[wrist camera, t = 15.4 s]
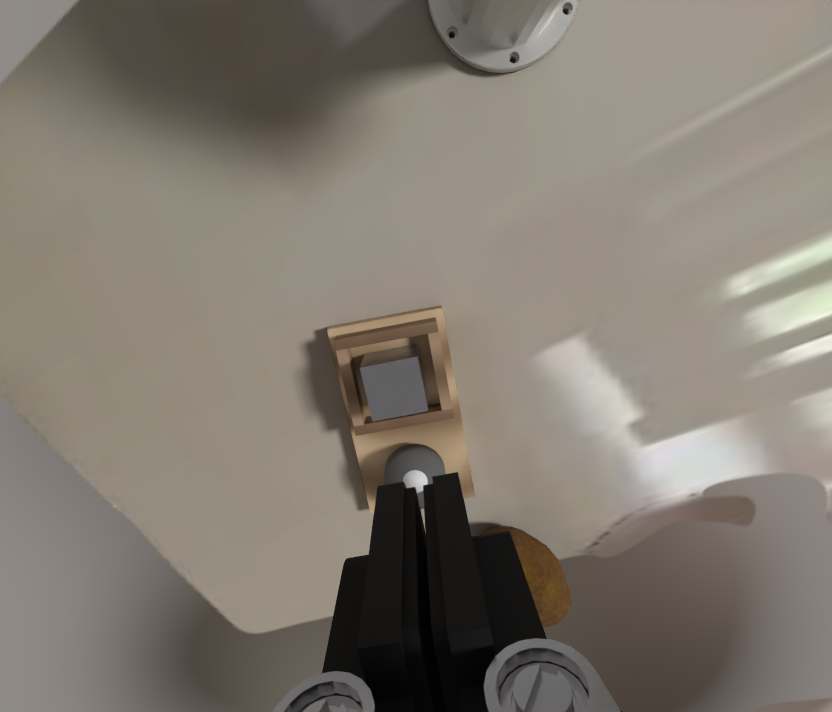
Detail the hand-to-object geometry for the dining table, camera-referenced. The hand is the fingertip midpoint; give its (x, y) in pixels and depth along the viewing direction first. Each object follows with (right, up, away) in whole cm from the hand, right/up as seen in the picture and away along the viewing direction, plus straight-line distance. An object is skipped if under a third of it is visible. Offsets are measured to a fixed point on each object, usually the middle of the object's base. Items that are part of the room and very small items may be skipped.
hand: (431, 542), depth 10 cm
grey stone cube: (-2, +2, +36) cm, 36 cm away
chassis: (-1, -2, +39) cm, 39 cm away
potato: (+11, -18, +43) cm, 48 cm away
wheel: (0, -8, +38) cm, 38 cm away
